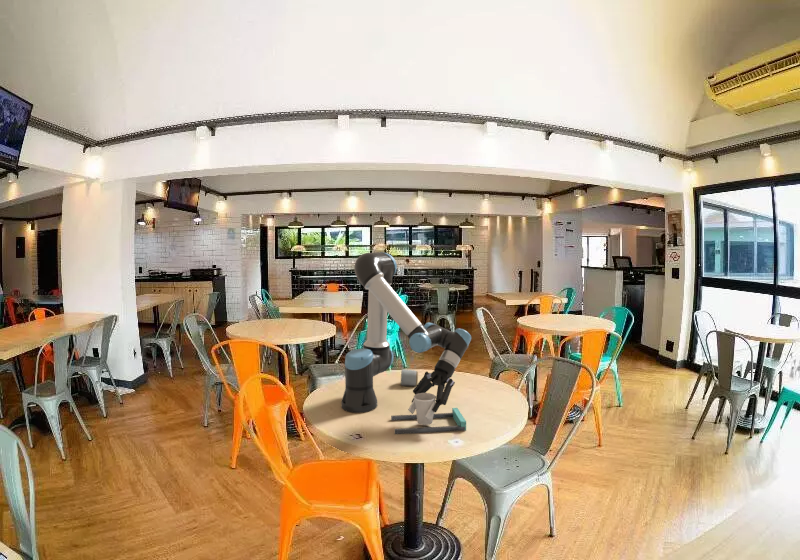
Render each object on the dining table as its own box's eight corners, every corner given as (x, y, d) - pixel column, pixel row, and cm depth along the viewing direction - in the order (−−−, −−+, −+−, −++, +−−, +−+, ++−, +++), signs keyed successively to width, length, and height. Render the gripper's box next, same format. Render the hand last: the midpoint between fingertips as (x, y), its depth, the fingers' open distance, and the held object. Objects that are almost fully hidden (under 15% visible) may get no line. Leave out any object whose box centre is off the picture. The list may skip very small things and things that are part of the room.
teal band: (460, 430, 162) (460, 421, 161) (452, 416, 175) (452, 407, 175) (466, 430, 162) (466, 421, 162) (457, 416, 175) (457, 407, 175)
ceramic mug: (417, 387, 209) (417, 371, 209) (400, 387, 210) (400, 371, 209) (418, 381, 220) (418, 366, 219) (401, 380, 220) (401, 365, 220)
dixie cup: (422, 415, 172) (422, 391, 171) (440, 421, 166) (440, 395, 166) (409, 422, 165) (409, 397, 164) (427, 428, 160) (427, 402, 159)
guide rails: (394, 434, 159) (394, 430, 159) (391, 419, 172) (391, 415, 172) (464, 430, 162) (464, 426, 162) (455, 416, 175) (456, 412, 175)
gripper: (472, 375, 167) (444, 428, 158) (431, 364, 182) (404, 412, 173) (464, 364, 163) (435, 418, 154) (423, 354, 178) (394, 402, 169)
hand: (418, 415), depth 163 cm, fingers closed on dixie cup, 8 cm apart
